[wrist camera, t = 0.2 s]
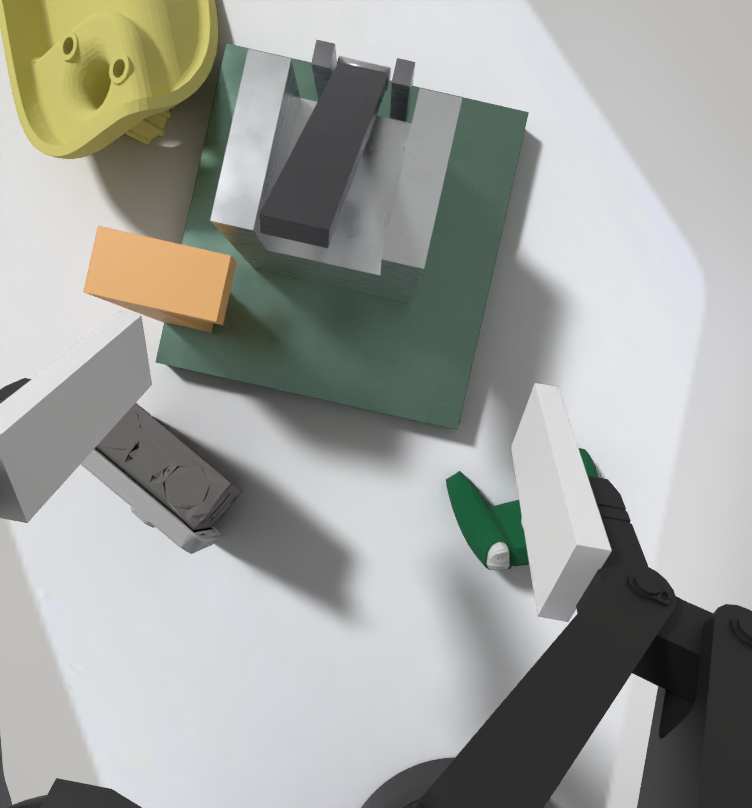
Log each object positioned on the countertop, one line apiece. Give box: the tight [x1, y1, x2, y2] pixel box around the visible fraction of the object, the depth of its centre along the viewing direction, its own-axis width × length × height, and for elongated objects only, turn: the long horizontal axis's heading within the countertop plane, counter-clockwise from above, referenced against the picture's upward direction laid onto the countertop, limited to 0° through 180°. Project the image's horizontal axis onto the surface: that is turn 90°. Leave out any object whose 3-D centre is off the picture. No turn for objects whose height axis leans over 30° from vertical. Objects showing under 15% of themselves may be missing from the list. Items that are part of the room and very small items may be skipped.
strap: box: [259, 56, 391, 248], centre depth 22 cm, size 14×3×1 cm
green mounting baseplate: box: [156, 40, 529, 430], centre depth 28 cm, size 20×19×10 cm
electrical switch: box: [81, 403, 242, 554], centre depth 28 cm, size 9×5×9 cm, turn 50°
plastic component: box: [0, 0, 218, 159], centre depth 31 cm, size 20×7×10 cm
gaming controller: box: [446, 448, 598, 570], centre depth 31 cm, size 9×4×6 cm
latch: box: [83, 226, 237, 333], centre depth 27 cm, size 3×6×9 cm, turn 77°
